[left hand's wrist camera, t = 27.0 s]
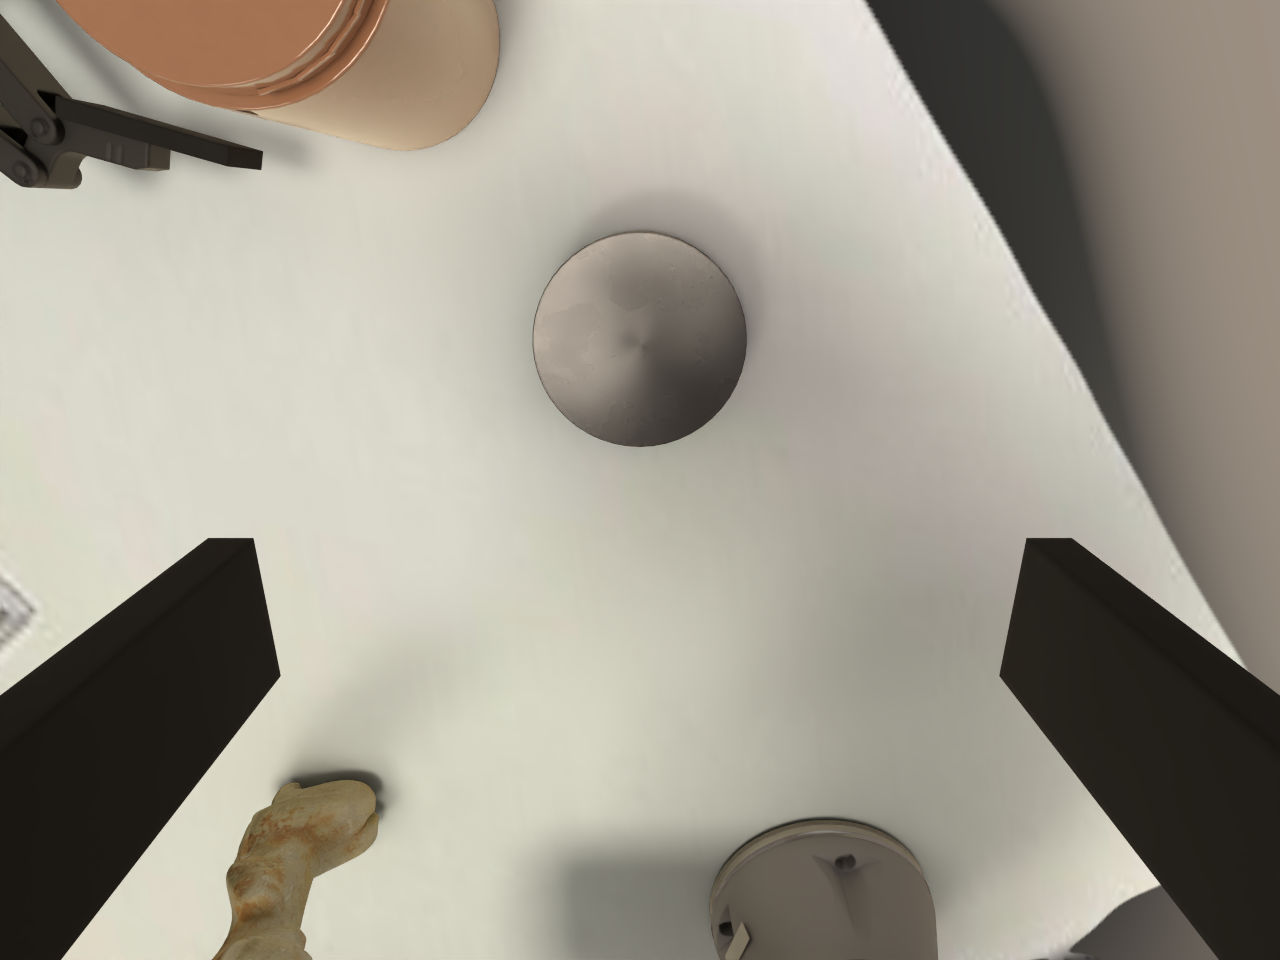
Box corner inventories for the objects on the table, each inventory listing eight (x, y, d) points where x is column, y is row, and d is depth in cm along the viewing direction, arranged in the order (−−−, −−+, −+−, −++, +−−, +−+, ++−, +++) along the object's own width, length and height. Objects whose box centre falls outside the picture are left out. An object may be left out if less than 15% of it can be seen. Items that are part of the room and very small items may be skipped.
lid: (518, 409, 40) (513, 418, 38) (562, 205, 36) (558, 205, 35) (708, 457, 41) (711, 468, 39) (768, 263, 37) (775, 266, 35)
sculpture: (388, 834, 50) (289, 1079, 36) (282, 832, 50) (140, 1077, 36) (380, 765, 48) (272, 996, 34) (269, 762, 48) (114, 993, 34)
